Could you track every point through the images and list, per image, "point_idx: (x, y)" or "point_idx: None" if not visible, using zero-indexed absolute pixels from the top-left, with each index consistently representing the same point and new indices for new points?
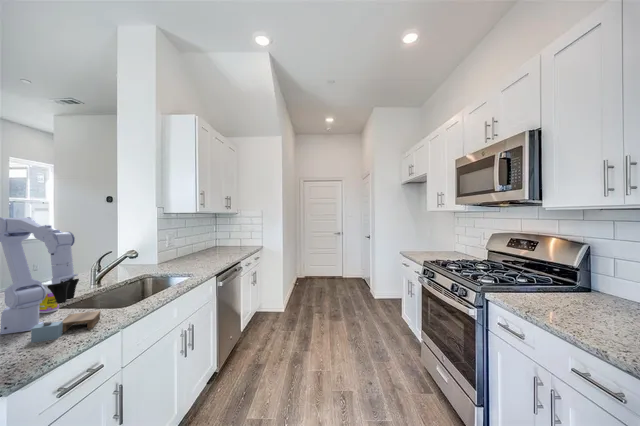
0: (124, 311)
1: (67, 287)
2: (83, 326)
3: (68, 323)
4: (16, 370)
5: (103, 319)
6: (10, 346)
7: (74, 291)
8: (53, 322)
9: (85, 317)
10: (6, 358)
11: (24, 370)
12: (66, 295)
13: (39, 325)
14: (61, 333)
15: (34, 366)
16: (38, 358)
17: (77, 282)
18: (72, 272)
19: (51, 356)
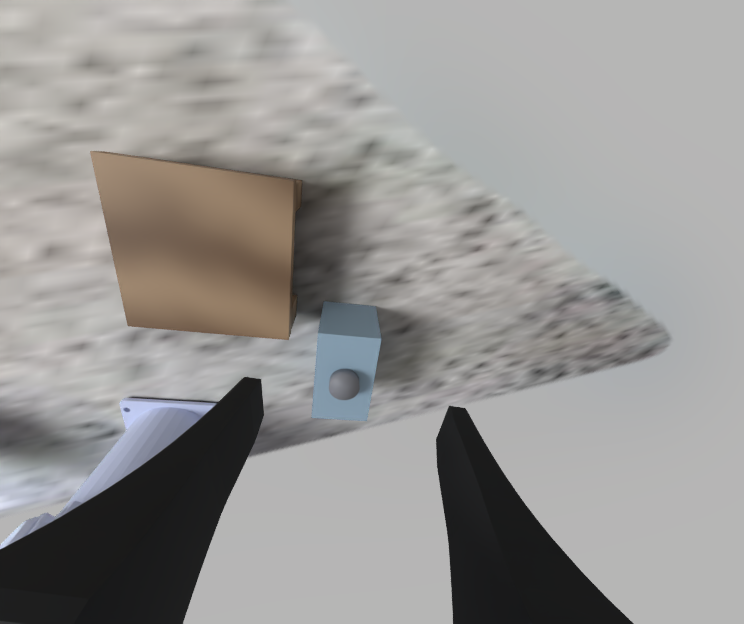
0: None
1: (538, 564)
2: None
3: (291, 302)
4: (596, 354)
5: (151, 129)
6: None
7: (213, 427)
8: (319, 366)
9: (231, 233)
10: (471, 400)
11: (616, 335)
12: (479, 458)
13: (335, 405)
14: (334, 305)
15: (609, 317)
16: (546, 322)
17: (64, 529)
18: None
19: (562, 288)
